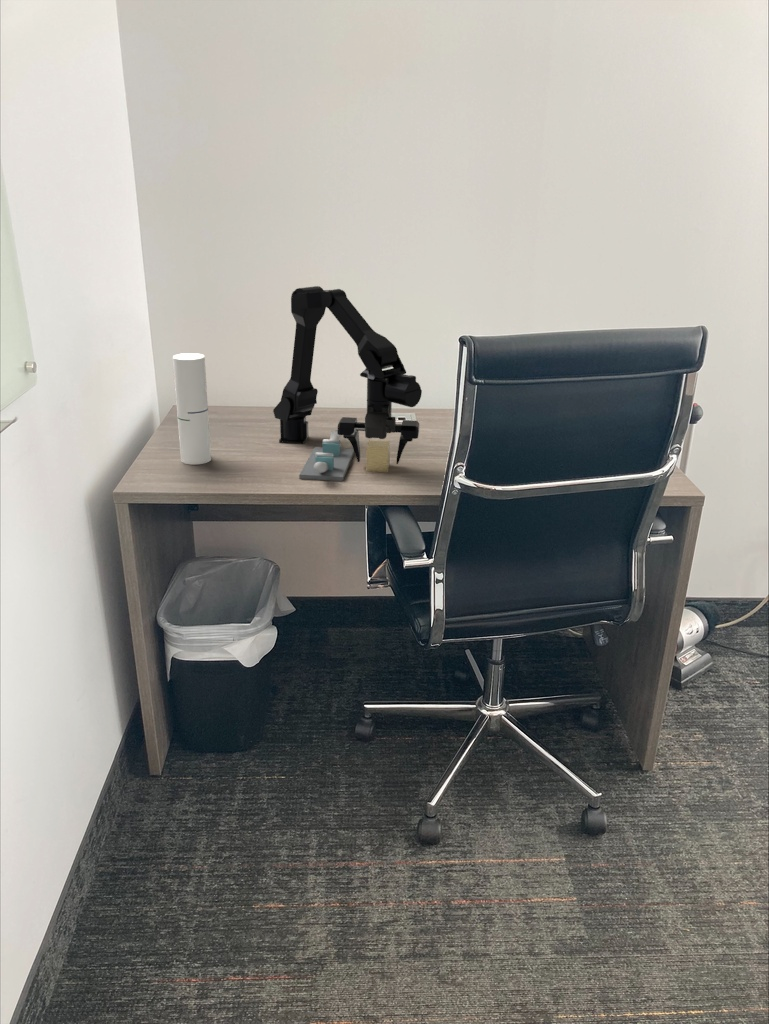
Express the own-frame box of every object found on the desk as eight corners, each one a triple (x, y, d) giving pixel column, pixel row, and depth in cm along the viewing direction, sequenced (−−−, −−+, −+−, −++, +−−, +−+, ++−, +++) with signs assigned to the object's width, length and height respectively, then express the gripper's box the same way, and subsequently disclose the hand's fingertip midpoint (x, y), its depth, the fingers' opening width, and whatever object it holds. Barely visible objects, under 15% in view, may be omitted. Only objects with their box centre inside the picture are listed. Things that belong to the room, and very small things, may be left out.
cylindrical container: (210, 464, 192) (203, 359, 182) (180, 465, 191) (171, 360, 181) (211, 454, 198) (205, 352, 189) (181, 455, 197) (173, 353, 188)
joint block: (366, 471, 190) (366, 447, 188) (368, 464, 195) (369, 440, 192) (387, 472, 190) (388, 448, 187) (389, 465, 194) (389, 441, 192)
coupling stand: (296, 483, 182) (296, 461, 180) (316, 447, 205) (316, 427, 203) (340, 485, 181) (340, 464, 179) (355, 449, 205) (356, 429, 203)
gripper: (333, 405, 179) (334, 472, 185) (417, 409, 177) (415, 476, 183) (341, 393, 189) (341, 456, 195) (420, 396, 188) (418, 460, 194)
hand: (378, 462), depth 192 cm, fingers open, 9 cm apart
